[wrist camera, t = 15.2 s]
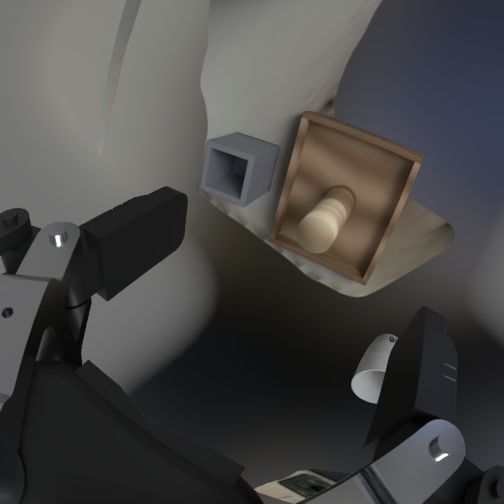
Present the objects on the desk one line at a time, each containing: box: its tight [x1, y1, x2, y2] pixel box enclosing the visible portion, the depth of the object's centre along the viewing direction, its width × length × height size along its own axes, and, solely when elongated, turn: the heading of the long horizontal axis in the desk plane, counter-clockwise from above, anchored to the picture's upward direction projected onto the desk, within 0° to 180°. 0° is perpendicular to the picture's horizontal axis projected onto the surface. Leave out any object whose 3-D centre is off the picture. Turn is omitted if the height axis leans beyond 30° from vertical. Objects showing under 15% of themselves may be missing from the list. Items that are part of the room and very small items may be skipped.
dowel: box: [296, 185, 356, 253], centre depth 37 cm, size 4×4×13 cm
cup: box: [352, 334, 398, 403], centre depth 47 cm, size 8×8×10 cm
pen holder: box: [200, 132, 280, 207], centre depth 44 cm, size 7×7×8 cm
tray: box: [269, 111, 423, 286], centre depth 42 cm, size 20×16×3 cm
